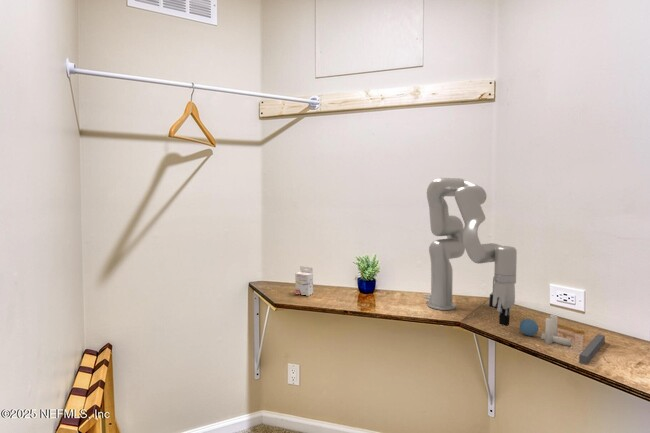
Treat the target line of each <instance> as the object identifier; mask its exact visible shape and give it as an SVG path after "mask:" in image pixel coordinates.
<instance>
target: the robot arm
mask: <svg viewBox="0 0 650 433" xmlns="http://www.w3.org/2000/svg"><path fill="white" fill-rule="evenodd" d="M487 196H488V195H487V192H486V190H485V189H484V188H483V187H481V186H480V185H478V184H476V183H473V182H470V181H469V180H466V179H463V178H458V177H457V178H456V177H438V178H435V179H433V180H431V182H429V184H428V186H427V189H426V199H427V203H428V210H429V222H430V223H429V224H430V231H431V233H432V235H433V236H435V237H446V238H442V239H441V238H440V239H436V240H433V241H432V242H431V243H430V244H429V246H428V253H429V258H430V273H431V274H430V294H429V293H424V299H425V300H428V302H427V306H428V307H429V308H430V309H433V310H439V311H451V310H455V309H456V308H457V305H456V303H454V302H453V266H452V263H451V261H450V260H452V259H458V258H461V257H463V255H464V254H465V253H466V254H467V256H468V258H469V259H470V260H471V262H473V263H474V264H477V265H478V264H487V263H494V270H493V271H494V276H493V277H494V281H495V283H494V291H493V290H492V292H493V307H497V306H498V307H497V308H496V311H497V313H498V317H499V319H498V320H499V321H498V323H499V325H501V326H505V327H508V326H510V316H511V308H512V307H513V306H514V305H515V303H516V283H517V258H518V257H517V254H518V253H517V249H516V247H514V246H509V245H501V244H498V243H492V242H491V243H481V241H480V238H479V235H478V234H479V233H478V231H479V226H480V225H481V224H483V222H484V221H485V220H486V215H485V213H484V210H483V208H482V205H483V204H484V203H485V202H486V201H487ZM445 197H454V200H455V202H456V204H457V208H458V210H459V212H460V216H461V217H462V220H461V218H459V217H458V216H456V215H450V213H449V206H448V203H447V201H446V199H445ZM463 222H464V224H463ZM465 251H466V252H465ZM493 307H492V308H493Z"/></svg>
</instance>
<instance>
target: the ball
mask: <svg viewBox="0 0 650 433" xmlns="http://www.w3.org/2000/svg"><path fill="white" fill-rule="evenodd" d="M519 329H520V331H521V333H523V334H524V335H526V336H530V337H532V336H533V337H534V336H535V335H537V333H538V332H539V325H538V324H537V322H536V321H534V320H533V319H531V318H524V319H522V320H521V321H520V323H519Z"/></svg>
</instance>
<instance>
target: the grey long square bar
mask: <svg viewBox="0 0 650 433" xmlns="http://www.w3.org/2000/svg"><path fill="white" fill-rule="evenodd" d="M605 340H606V335H605V334H600V333H597V334H596V335H595V336H594V338H592V339H591V341H590V342H589V343H588V344H587V346H585V347H584V349H583V350H582V351H581V352H580V353H579V356H578V362H579V364H583V365H588V364H589V363H590V362H591V360H592V359H593V358H594V357H595V356H596V354H597V353H598V352H599V351H600V349H601V348H602V347H603V345H604V344H605V343H606V341H605Z"/></svg>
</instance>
